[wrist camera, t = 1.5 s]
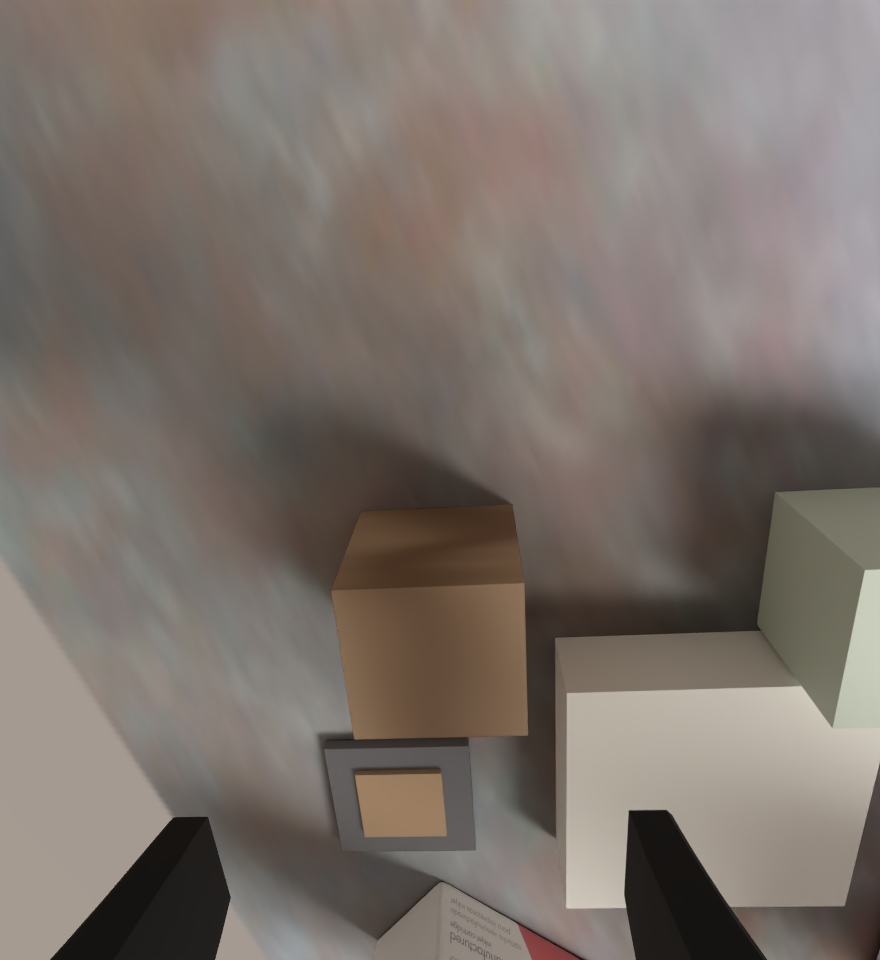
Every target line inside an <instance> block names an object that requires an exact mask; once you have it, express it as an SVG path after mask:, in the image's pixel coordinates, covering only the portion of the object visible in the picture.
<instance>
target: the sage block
mask: <svg viewBox="0 0 880 960" xmlns="http://www.w3.org/2000/svg"><path fill="white" fill-rule="evenodd" d="M757 625H758V627H759V628H760V629H761V631H762V632H763V633H764V635H765V636H766V638H767V639H768V640H769V642H770V643H771V644H772V646H773V647H774V649H775V650H776V651H777V653H778V654H779V656H780V657H781V658H782V660H783V661H784V662H785V664H786V665H787V667H788V668H789V669H790V671H791V672H792V673H793V675H794V676H795V678H796V679H797V680H798V682H799V683H800V685H801V686H802V687H803V689H804V690H805V691H806V693H807V694H808V696H809V697H810V698H811V700H812V701H813V702H814V704H815V705H816V707H817V708H818V709H819V711H820V712H821V714H822V715H823V716H824V718H825V719H826V720H827V722H828V723H829V725H830V726H831V727H832V729H837V728H880V487H874V488H853V489H831V490H809V491H788V492H775V497H774V504H773V511H772V519H771V526H770V533H769V540H768V548H767V555H766V562H765V569H764V577H763V584H762V591H761V598H760V605H759V613H758V620H757Z"/></svg>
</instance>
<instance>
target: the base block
mask: <svg viewBox="0 0 880 960" xmlns="http://www.w3.org/2000/svg"><path fill="white" fill-rule="evenodd" d="M555 716H556V841H557V848H558V855H559V862H560V869H561V876H562V883H563V890H564V897H565V904H566V908H626V903H625V897H624V886H625V869H626V851H627V833H628V815H629V810H667V811H668V812H669V813H671V814H672V815H673V817H674V819H675V821H676V822H677V824H678V826H679V828H680V829H681V831H682V833H683V834H684V836H685V838H686V839H687V841H688V843H689V844H690V846H691V848H692V849H693V851H694V853H695V854H696V856H697V857H698V859H699V861H700V862H701V864H702V865H703V867H704V868H705V870H706V872H707V873H708V875H709V876H710V878H711V879H712V881H713V882H714V884H715V885H716V887H717V888H718V890H719V891H720V893H721V895H722V896H723V898H724V899H725V900H726V902H727V903H728V905H729V906H730V907H805V906H845V903H846V899H847V895H848V891H849V887H850V882H851V878H852V874H853V870H854V866H855V862H856V858H857V854H858V850H859V845H860V841H861V837H862V833H863V829H864V825H865V821H866V817H867V813H868V809H869V804H870V800H871V796H872V792H873V788H874V784H875V780H876V776H877V772H878V768H879V763H880V728H837V729H832V727H831V726H830V725H829V723H828V722H827V720H826V719H825V718H824V716H823V715H822V714H821V712H820V711H819V709H818V708H817V707H816V705H815V704H814V702H813V701H812V700H811V698H810V697H809V696H808V694H807V693H806V691H805V690H804V689H803V687H802V686H801V685H800V683H799V682H798V680H797V679H796V678H795V676H794V675H793V673H792V672H791V671H790V669H789V668H788V667H787V665H786V664H785V662H784V661H783V660H782V658H781V657H780V656H779V654H778V653H777V651H776V650H775V649H774V647H773V646H772V644H771V643H770V642H769V640H768V639H767V638H766V636H765V635H764V633H763V632H762V631H738V632H709V633H680V634H651V635H621V636H592V637H563V638H555Z"/></svg>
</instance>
